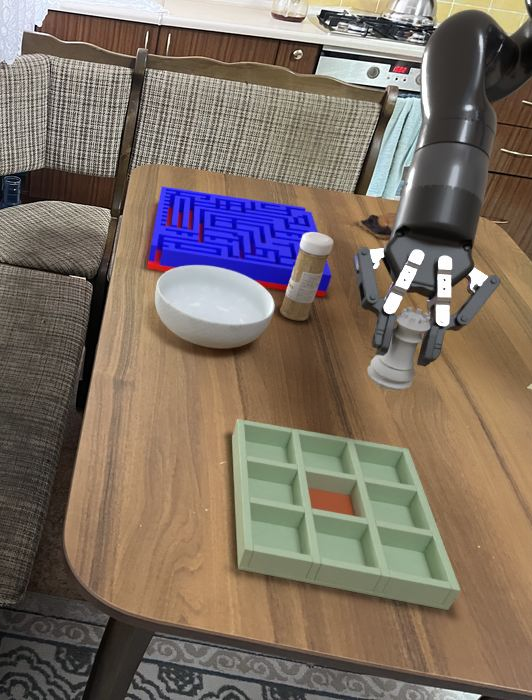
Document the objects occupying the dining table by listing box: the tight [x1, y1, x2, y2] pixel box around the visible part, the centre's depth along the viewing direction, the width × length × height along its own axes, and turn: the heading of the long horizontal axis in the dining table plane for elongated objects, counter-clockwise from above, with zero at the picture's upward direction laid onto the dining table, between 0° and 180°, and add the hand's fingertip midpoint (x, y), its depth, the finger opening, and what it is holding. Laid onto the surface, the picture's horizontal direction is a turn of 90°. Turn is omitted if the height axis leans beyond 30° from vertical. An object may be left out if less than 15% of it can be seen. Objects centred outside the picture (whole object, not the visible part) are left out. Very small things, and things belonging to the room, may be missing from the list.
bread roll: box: [358, 212, 397, 240], centre depth 141 cm, size 11×8×4 cm
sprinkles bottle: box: [279, 232, 335, 322], centre depth 105 cm, size 5×5×13 cm
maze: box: [146, 186, 333, 298], centre depth 127 cm, size 30×30×4 cm
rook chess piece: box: [366, 306, 431, 391], centre depth 69 cm, size 4×4×8 cm
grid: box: [231, 418, 461, 611], centre depth 72 cm, size 20×20×3 cm
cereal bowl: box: [154, 265, 276, 349], centre depth 100 cm, size 17×17×7 cm
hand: (402, 358), depth 67 cm, fingers closed on rook chess piece, 3 cm apart
